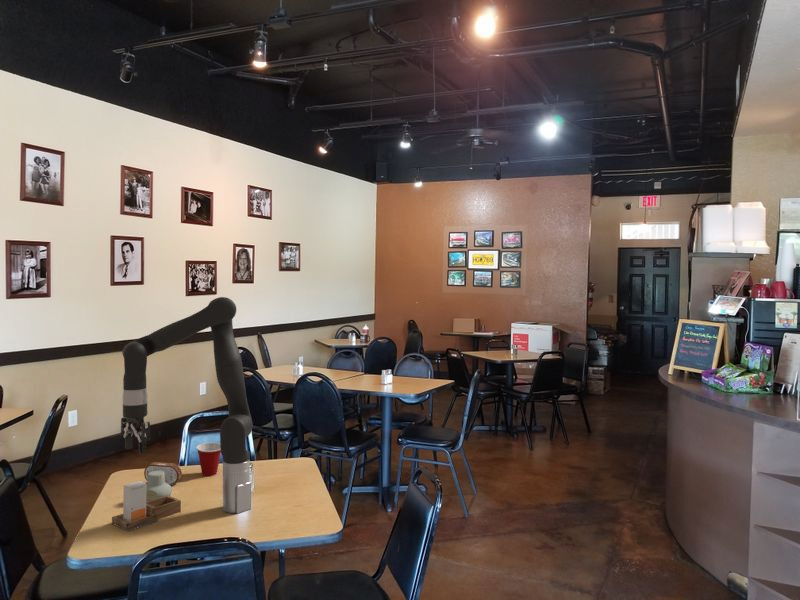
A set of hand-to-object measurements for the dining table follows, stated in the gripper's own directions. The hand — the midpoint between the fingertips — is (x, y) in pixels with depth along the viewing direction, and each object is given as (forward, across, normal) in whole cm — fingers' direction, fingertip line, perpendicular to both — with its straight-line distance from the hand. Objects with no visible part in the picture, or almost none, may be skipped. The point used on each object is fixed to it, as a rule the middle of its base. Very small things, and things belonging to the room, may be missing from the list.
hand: (135, 450), depth 199 cm
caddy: (+24, 0, -5) cm, 25 cm away
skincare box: (+23, 0, 0) cm, 23 cm away
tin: (+24, +28, -27) cm, 46 cm away
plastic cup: (+24, +24, -46) cm, 57 cm away
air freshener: (+24, +14, -16) cm, 32 cm away
